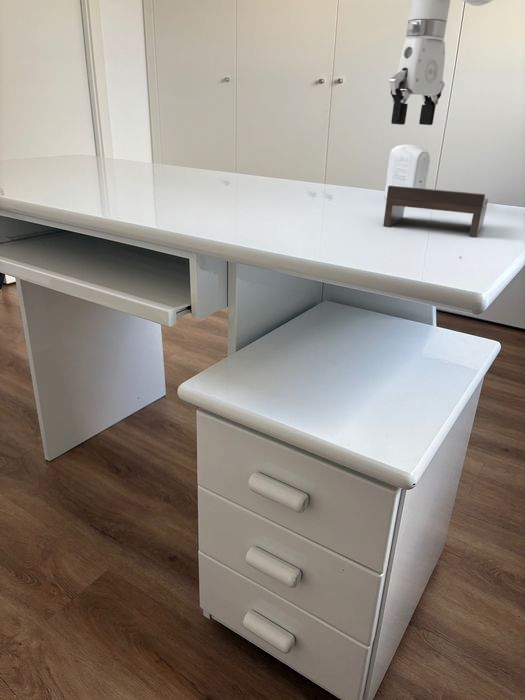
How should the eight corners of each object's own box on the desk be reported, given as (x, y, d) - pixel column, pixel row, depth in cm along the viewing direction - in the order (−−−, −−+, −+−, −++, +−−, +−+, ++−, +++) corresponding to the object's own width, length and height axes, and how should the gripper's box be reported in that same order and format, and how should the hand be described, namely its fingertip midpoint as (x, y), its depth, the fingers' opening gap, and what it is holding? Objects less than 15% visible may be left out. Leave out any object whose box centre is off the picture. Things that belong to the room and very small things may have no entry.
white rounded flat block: (425, 205, 119) (434, 146, 114) (410, 206, 117) (419, 146, 112) (395, 198, 127) (403, 142, 122) (381, 199, 125) (388, 142, 120)
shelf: (397, 216, 106) (402, 179, 103) (482, 226, 100) (490, 187, 97) (383, 226, 97) (388, 186, 94) (476, 237, 91) (484, 194, 88)
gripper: (414, 26, 100) (401, 125, 108) (465, 36, 111) (450, 125, 118) (383, 29, 106) (372, 123, 113) (435, 38, 116) (421, 123, 123)
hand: (412, 124), depth 115 cm, fingers open, 9 cm apart
